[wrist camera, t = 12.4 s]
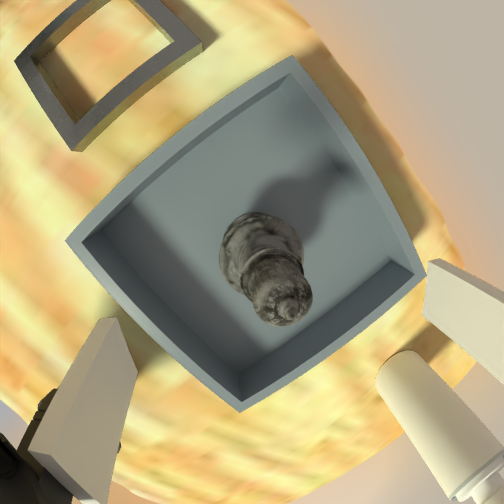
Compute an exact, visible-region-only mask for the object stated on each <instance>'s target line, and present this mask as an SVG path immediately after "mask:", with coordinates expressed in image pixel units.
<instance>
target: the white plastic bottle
mask: <svg viewBox="0 0 504 504" xmlns="http://www.w3.org/2000/svg"><path fill="white" fill-rule="evenodd" d="M375 387H376V389H377V391H378V392H379V394H380V395H381V397H382V398H383V399H384V401H385V402H386V404H387V405H388V407H389V408H390V410H391V411H392V413H393V414H394V416H395V417H396V419H397V420H398V422H399V423H400V425H401V426H402V428H403V429H404V431H405V432H406V434H407V435H408V437H409V438H410V440H411V441H412V443H413V444H414V446H415V447H416V449H417V450H418V452H419V453H420V455H421V456H422V458H423V459H424V461H425V462H426V464H427V466H428V467H429V469H430V470H431V472H432V473H433V475H434V476H435V478H436V479H437V481H438V482H439V484H440V485H441V487H442V489H443V490H444V492H445V493H446V495H447V496H448V498H449V500H450V501H451V502H452V501H455V500H457V499H458V501H460V502H462V501H464V500H466V499H467V498H469V497H471V496H472V497H473V499H474V500H475V502H476V503H477V504H504V479H503V478H502V477H501V476H500V474H499V471H501V469H502V468H503V467H504V447H503V446H502V444H501V443H500V442H499V441H498V440H497V439H496V437H495V436H494V435H493V434H492V433H491V432H490V430H489V429H488V428H487V427H486V426H485V425H484V424H483V422H482V421H481V420H480V419H479V418H478V417H477V416H476V415H475V414H474V412H473V411H472V410H471V409H470V408H469V407H468V406H467V405H466V404H465V403H464V402H463V401H462V399H461V398H459V396H458V395H457V394H456V393H455V392H454V391H453V390H452V389H451V388H450V387H449V386H448V385H447V383H446V382H445V381H444V380H443V379H442V378H441V377H440V376H439V375H438V374H437V373H436V372H435V371H434V370H433V369H432V368H431V367H430V366H429V365H428V364H427V363H426V362H425V361H424V360H423V359H422V358H421V357H420V356H419V355H418V354H417V353H416V352H414V351H411V350H406V351H402V352H399V353H397V354H395V355H394V356H392V357H391V358H389V359H388V360H387V361H386V362H385V363H384V364H383V365H382V367H381V368H380V369H379V371H378V373H377V375H376V378H375Z"/></svg>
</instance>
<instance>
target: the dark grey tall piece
mask: <svg viewBox="0 0 504 504" xmlns="http://www.w3.org/2000/svg"><path fill="white" fill-rule="evenodd" d="M303 262H304V248H303V244H302V240H301V238H300V236H299V235H298V233H297V232H296V230H295V229H294V228H293V227H292V226H291V225H290V224H288V223H287V222H285V221H284V220H282V219H280V218H278V217H273V216H270V215H268V214H265V213H260V212H254V213H248V214H245V215H242V216H240V217H238V218H237V219H235V220H234V221H233V222H232V223H231V224H230V225H229V227H228V228H227V230H226V232H225V234H224V237H223V242H222V244H221V247H220V252H219V265H220V270H221V272H222V275H223V277H224V279H225V280H226V282H227V283H228V284H229V286H230V287H232V288H233V289H234V290H236V291H237V292H238V293H240V294H243V295H245V296H246V297H247V299H248V300H250V301H251V302H252V303H253V307H254V309H255V312H256V314H257V315H258V316H259V317H260V319H261V320H263V321H264V322H265V323H267V324H269V325H272V326H277V327H284V326H290V325H292V324H295V323H297V322H298V321H300V320H302V319H303V318H304V317H305V316H306V315H307V313H308V311H309V310H310V308H311V305H312V302H313V294H312V290H311V286H310V284H309V283H308V281H307V280H306V278H305V277H304V270H303Z"/></svg>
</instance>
